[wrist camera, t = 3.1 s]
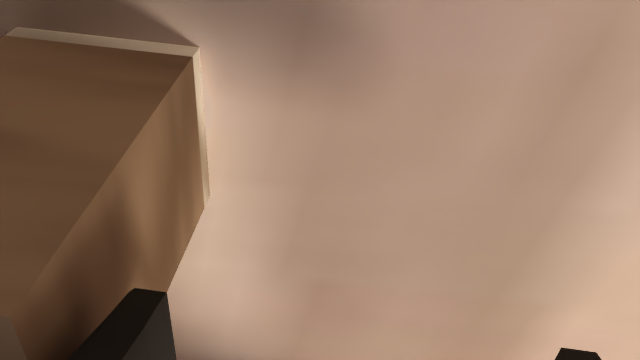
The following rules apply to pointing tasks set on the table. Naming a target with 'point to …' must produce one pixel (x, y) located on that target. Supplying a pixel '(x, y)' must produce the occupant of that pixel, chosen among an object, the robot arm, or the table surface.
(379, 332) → the table surface
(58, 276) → the walnut block
